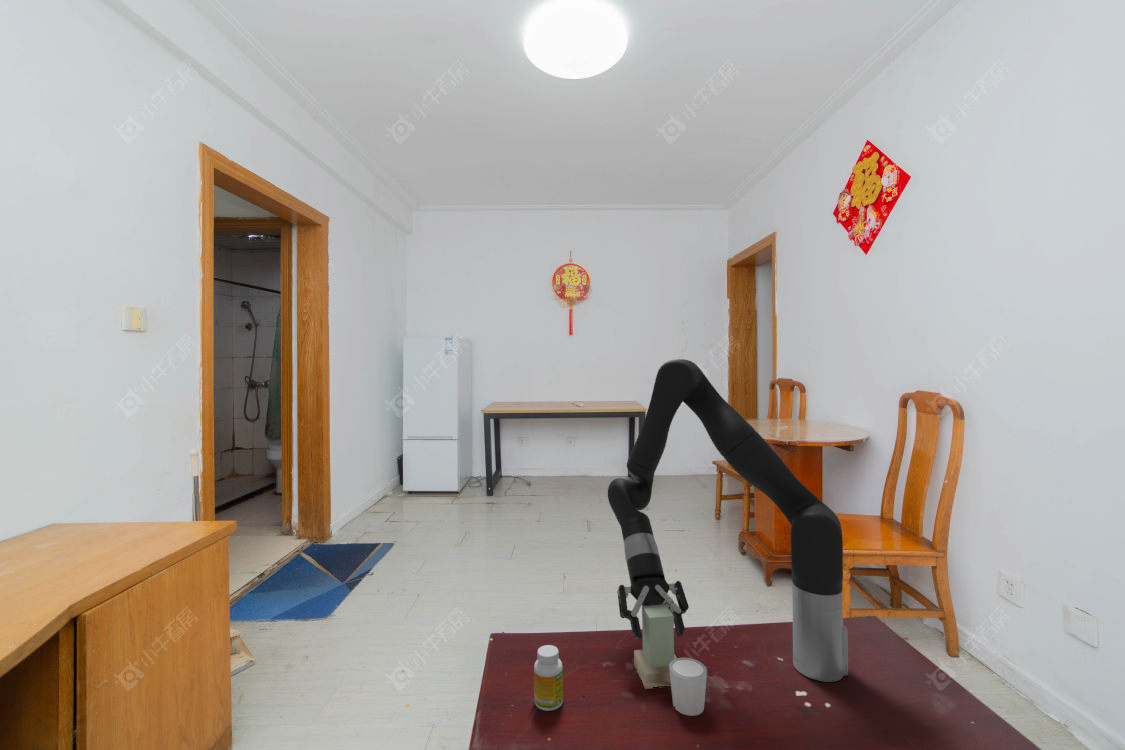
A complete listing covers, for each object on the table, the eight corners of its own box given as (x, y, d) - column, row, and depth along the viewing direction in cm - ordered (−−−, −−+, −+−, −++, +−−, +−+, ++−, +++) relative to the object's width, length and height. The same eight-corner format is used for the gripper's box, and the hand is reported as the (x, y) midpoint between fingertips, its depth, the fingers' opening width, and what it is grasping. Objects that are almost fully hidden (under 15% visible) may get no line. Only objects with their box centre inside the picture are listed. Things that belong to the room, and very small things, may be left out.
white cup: (686, 723, 86) (686, 683, 86) (661, 700, 92) (661, 663, 92) (715, 710, 89) (715, 672, 89) (689, 688, 95) (689, 653, 95)
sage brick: (665, 651, 103) (665, 604, 102) (674, 665, 98) (673, 615, 98) (642, 653, 102) (642, 605, 102) (650, 668, 97) (649, 617, 97)
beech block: (670, 661, 104) (670, 647, 104) (684, 685, 96) (684, 669, 96) (634, 664, 103) (633, 650, 103) (645, 688, 95) (645, 673, 95)
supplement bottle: (559, 713, 89) (559, 660, 89) (531, 710, 90) (530, 657, 90) (565, 694, 94) (564, 644, 94) (538, 691, 95) (537, 641, 95)
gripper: (614, 553, 106) (628, 634, 95) (677, 549, 108) (699, 628, 97) (609, 568, 111) (622, 646, 100) (669, 564, 113) (689, 640, 102)
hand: (660, 637), depth 98 cm, fingers open, 8 cm apart
